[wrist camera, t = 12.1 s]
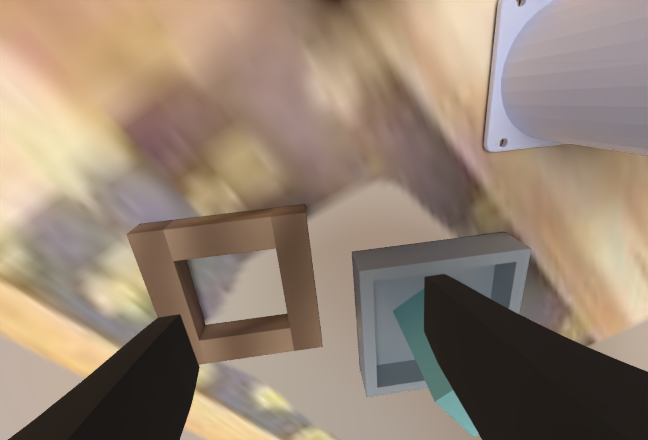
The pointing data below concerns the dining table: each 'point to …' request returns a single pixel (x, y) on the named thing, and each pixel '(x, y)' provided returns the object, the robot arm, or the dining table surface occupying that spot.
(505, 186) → the dining table surface
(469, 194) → the dining table surface
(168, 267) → the tan square frame
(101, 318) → the dining table surface
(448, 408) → the peg
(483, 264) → the tray
